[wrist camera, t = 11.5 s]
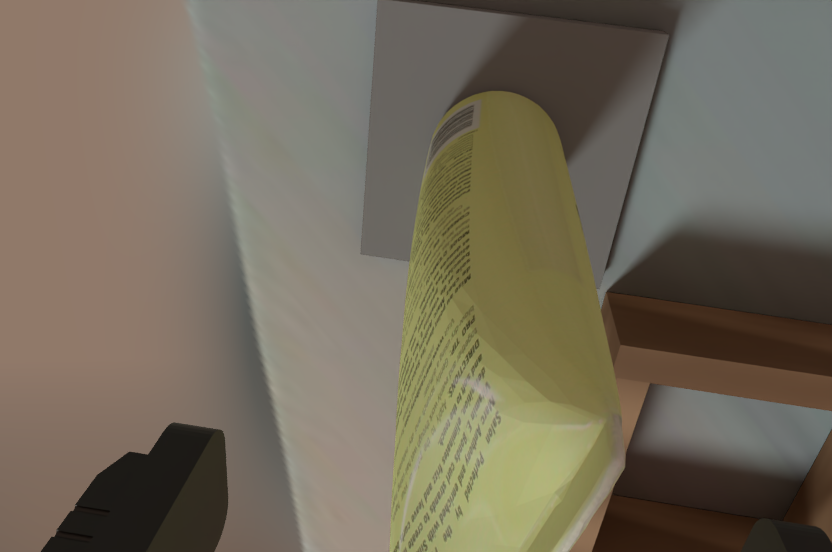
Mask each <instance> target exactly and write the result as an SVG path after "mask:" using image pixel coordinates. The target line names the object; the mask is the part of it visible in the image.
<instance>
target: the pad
mask: <svg viewBox="0 0 832 552" xmlns="http://www.w3.org/2000/svg"><path fill="white" fill-rule="evenodd" d="M668 38H669V34H667V33H666V32H665V31H658V30H649V29H641V28H633V27H625V26H617V25H609V24H601V23H593V22H585V21H577V20H569V19H561V18H553V17H545V16H536V15H528V14H520V13H512V12H504V11H496V10H488V9H480V8H472V7H464V6H456V5H448V4H440V3H432V2H423V1H415V0H378V3H377V18H376V33H375V47H374V62H373V77H372V92H371V107H370V121H369V136H368V151H367V166H366V181H365V195H364V210H363V225H362V240H361V254H362V255H369V256H376V257H383V258H389V259H396V260H403V261H410V255H411V247H412V240H413V233H414V227H415V220H416V214H417V208H418V202H419V196H420V190H421V185H422V180H423V175H424V170H425V165H426V160H427V156H428V151H429V147H430V144H431V140H432V137H433V134H434V132H435V130H436V128H437V126H438V124H439V122H440V121H441V119H442V118H443V117H444V115H445V114H446V113H447V112H448V111H449V110H450V109H451V108H452V107H454V106H455V105H456V104H458V103H459V102H461V101H462V100H464V99H466V98H468V97H470V96H472V95H475V94H479V93H482V92H487V91H506V92H512V93H516V94H519V95H521V96H524V97H526V98H528V99H530V100H532V101H533V102H534V103H536V104H537V105H539V106H540V107H541V108H542V109H543V110H544V111H545V112H546V113H547V114H548V116H549V117H550V118H551V120H552V121H553V123H554V125H555V127H556V129H557V132H558V135H559V137H560V140H561V144H562V148H563V152H564V156H565V160H566V164H567V168H568V172H569V176H570V180H571V184H572V188H573V192H574V196H575V200H576V203H577V207H578V213H579V217H580V220H581V224H582V229H583V234H584V237H585V241H586V246H587V250H588V255H589V259H590V263H591V267H592V271H593V276H594V281H595V286H596V289H600V286H601V282H602V278H603V275H604V271H605V267H606V264H607V260H608V257H609V253H610V249H611V246H612V242H613V238H614V235H615V231H616V227H617V224H618V220H619V217H620V213H621V209H622V206H623V202H624V198H625V195H626V191H627V187H628V184H629V180H630V176H631V173H632V169H633V166H634V162H635V158H636V155H637V151H638V147H639V144H640V140H641V136H642V133H643V129H644V126H645V122H646V118H647V115H648V111H649V107H650V104H651V100H652V96H653V93H654V89H655V86H656V82H657V78H658V75H659V71H660V67H661V64H662V60H663V56H664V53H665V49H666V45H667V42H668Z"/></svg>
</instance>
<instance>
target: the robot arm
mask: <svg viewBox="0 0 832 552" xmlns="http://www.w3.org/2000/svg"><path fill="white" fill-rule="evenodd" d="M227 509H228V487H227V468H226V451H225V437H224V433H223V431H222V430H218V429H212V428H206V427H199V426H193V425H187V424H180V423H171V424H170V425H169V426H168V427H167V428H166V429H165V431H164V432H163V433H162V435H161V436H160V438H159V439H158V441H157V442H156V444H155V445H154V447H153V448H152V450H151V451H150V453H149V454H148V455H146V454H141V453H134V452H128V453H127V454H126V455H124V456H123V457H121V458H120V459H119V460H117V461H116V462H115V463H113V464H112V465H110V466H109V467H108V468H107V469H105V470H103V471H102V472H101V473H99V474H98V475H97V476H96V477H95V479H94V480H93V481H92V483H91V484H90V486H89V487H88V488H87V490H86V491H85V492H84V494H83V495H82V496H81V498H80V499H79V500H78V502H77V503H76V504H75V509H74V511H70V513H69V514H68V515H67V517H66V518H65V519H64V521H63V522H62V524H61V525H60V526H59V528H58V529H57V533H56V535H55V537H51V538H50V540H49V541H48V542H47V544H46V545H45V547H44V548H43V549H42V551H41V552H214V551H215V549H216V547H217V545H218V542H219V540H220V537H221V535H222V531H223V528H224V524H225V520H226V515H227ZM741 552H832V543H831V541H830V539H829V538H828V536H827V534H826V533H825V532H824V531H823V530H822V529H820V528H819V527H817V526H810V525H804V524H798V523H792V522H785V521H779V520H773V519H766V518H762V519H759V520H758V521H757V522H756V523H755V524H754V526H753V528H752V530H751V532H750V534H749V536H748V538H747V540H746V542H745V544H744V546H743V548H742V550H741Z"/></svg>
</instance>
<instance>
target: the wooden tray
mask: <svg viewBox="0 0 832 552" xmlns="http://www.w3.org/2000/svg"><path fill="white" fill-rule="evenodd" d="M601 314H602V318H603V323H604V327H605V332H606V336H607V341H608V346H609V350H610V355H611V359H612V364H613V368H614V373H615V378H616V384H617V389H618V394H619V400H620V406H621V413H622V432H623V440H624V447H625V454H626V451H627V448H628V445H629V443H630V440H631V437H632V434H633V431H634V428H635V425H636V422H637V419H638V417H639V414H640V411H641V408H642V405H643V402H644V399H645V396H646V393H647V391H648V388H649V385H650V383H653V384H659V385H666V386H672V387H679V388H685V389H692V390H698V391H705V392H711V393H718V394H724V395H731V396H737V397H744V398H750V399H757V400H763V401H770V402H776V403H783V404H790V405H796V406H803V407H809V408H816V409H822V410H829V411H832V325H829V324H822V323H815V322H809V321H802V320H795V319H788V318H781V317H774V316H768V315H761V314H754V313H747V312H740V311H734V310H727V309H720V308H713V307H706V306H699V305H693V304H686V303H679V302H672V301H665V300H658V299H652V298H645V297H638V296H631V295H624V294H617V293H611V292H606V294H605V298H604V301H603V305H602V309H601ZM614 486H615V485H614ZM613 489H614V487H613V488H612V490H611V492H610V493H609V495H608V496H607V497H606V499H605V500H604V502H603V503H602V504H601V506H600V507H599V508H598V510H597V511H596V513H595V514H594V515H593V517H592V518H591V520H590V522H589V524H588V525H587V527H586V529H585V530H584V532H583V533H582V534H581V536H580V537H579V539H578V540H577V541H576V543H575V544H574V546H573V547H572V548H571V550H570V551H569V552H741V550H742V548H743V546H744V544H745V542H746V540H747V538H748V536H749V534H750V532H751V530H752V528H753V526H754V524H755V523H756V522H757V521H758V520H759V519H756V518H750V517H744V516H738V515H732V514H726V513H720V512H713V511H707V510H701V509H695V508H689V507H683V506H677V505H671V504H665V503H658V502H652V501H646V500H640V499H634V498H628V497H622V496H616V495H612V492H613ZM783 521H785V522H792V523H798V524H804V525H810V526H817V527H819V528H820V529H822V530H823V531H824V532H825V533H826V534H827V536H828V538H829V539H830V541H831V543H832V430H831V432H830V434H829V436H828V438H827V439H826V441H825V443H824V445H823V447H822V449H821V450H820V452H819V454H818V456H817V458H816V460H815V462H814V463H813V465H812V467H811V469H810V471H809V473H808V475H807V476H806V478H805V480H804V482H803V484H802V486H801V488H800V489H799V491H798V493H797V495H796V497H795V499H794V501H793V502H792V504H791V506H790V508H789V510H788V512H787V514H786V515H785V517H784V519H783Z"/></svg>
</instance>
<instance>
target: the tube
mask: <svg viewBox="0 0 832 552" xmlns="http://www.w3.org/2000/svg"><path fill="white" fill-rule="evenodd" d="M624 468H625V447H624V440H623V432H622V413H621V406H620V400H619V394H618V389H617V384H616V378H615V373H614V368H613V364H612V359H611V355H610V350H609V346H608V341H607V336H606V332H605V327H604V323H603V318H602V314H601V309H600V305H599V300H598V295H597V290H596V286H595V281H594V276H593V271H592V267H591V263H590V259H589V255H588V250H587V246H586V241H585V237H584V234H583V229H582V224H581V220H580V217H579V213H578V207H577V203H576V200H575V196H574V192H573V188H572V184H571V180H570V176H569V172H568V168H567V164H566V160H565V156H564V152H563V148H562V144H561V140H560V137H559V135H558V132H557V129H556V127H555V125H554V123H553V121H552V120H551V118H550V117H549V116H548V114H547V113H546V112H545V111H544V110H543V109H542V108H541V107H540V106H539V105H537V104H536V103H534V102H533V101H532V100H530V99H528V98H526V97H524V96H521V95H519V94H516V93H512V92H506V91H487V92H482V93H479V94H475V95H472V96H470V97H468V98H466V99H464V100H462V101H461V102H459V103H458V104H456V105H455V106H454V107H452V108H451V109H450V110H449V111H448V112H447V113H446V114H445V115H444V117H443V118H442V119H441V121H440V122H439V124H438V126H437V128H436V130H435V132H434V134H433V137H432V140H431V144H430V147H429V151H428V156H427V160H426V165H425V170H424V175H423V180H422V185H421V190H420V196H419V202H418V208H417V214H416V220H415V227H414V233H413V240H412V247H411V255H410V263H409V271H408V281H407V290H406V300H405V312H404V323H403V335H402V347H401V358H400V370H399V385H398V401H397V417H396V440H395V456H394V472H393V488H392V507H391V531H390V552H569V551H570V550H571V548H572V547H573V546H574V544H575V543H576V541H577V540H578V539H579V537H580V536H581V534H582V533H583V532H584V530H585V529H586V527H587V525H588V524H589V522H590V520H591V518H592V517H593V515H594V514H595V513H596V511H597V510H598V508H599V507H600V506H601V504H602V503H603V502H604V500H605V499H606V497H607V496H608V495H609V493H610V492H611V490H612V488H613V487H614V485H615V483H616V482H617V480H618V478H619V477H620V475H621V473H622V472H623V470H624Z"/></svg>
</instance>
